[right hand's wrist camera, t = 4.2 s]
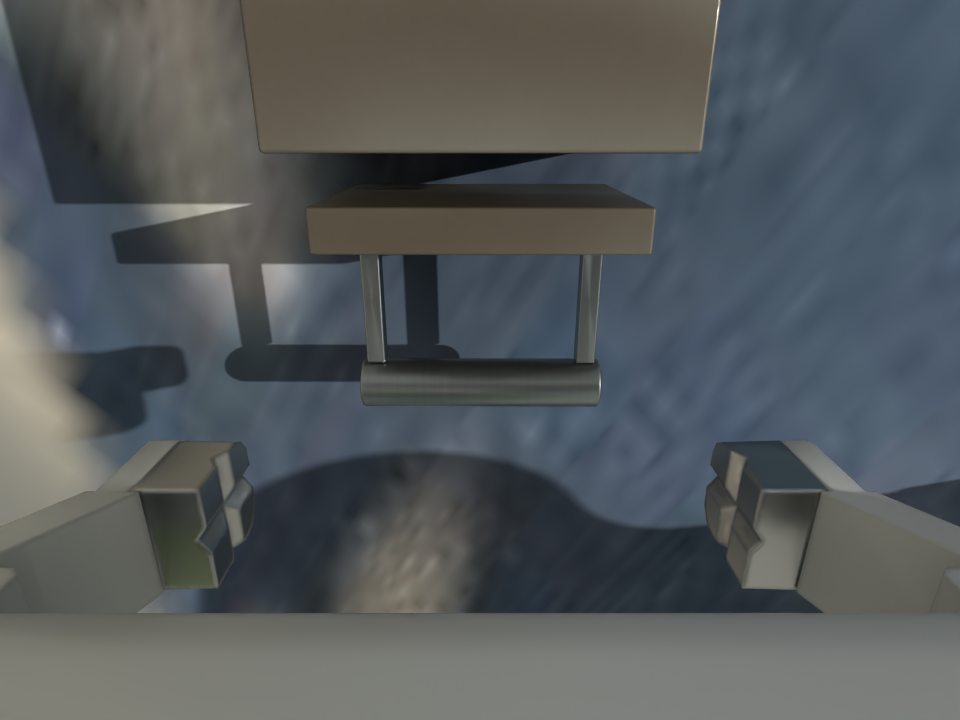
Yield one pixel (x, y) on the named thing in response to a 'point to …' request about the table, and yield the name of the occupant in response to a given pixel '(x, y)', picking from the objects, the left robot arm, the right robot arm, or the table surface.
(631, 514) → the table surface
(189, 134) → the table surface
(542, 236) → the drawer
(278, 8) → the cabinet
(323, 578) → the table surface
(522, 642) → the right robot arm
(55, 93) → the table surface
